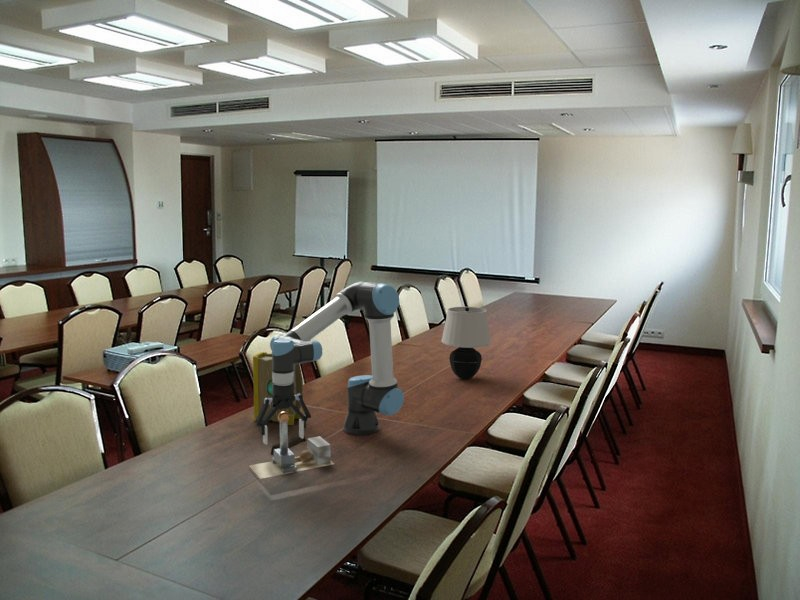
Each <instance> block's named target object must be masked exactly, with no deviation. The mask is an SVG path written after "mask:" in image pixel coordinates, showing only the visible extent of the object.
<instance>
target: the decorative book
mask: <svg viewBox="0 0 800 600" xmlns="http://www.w3.org/2000/svg"><path fill="white" fill-rule="evenodd" d="M252 369H253V370H252V375H253V377H252V379H253V382H252V383H253V421H254V422H255V421H256V418H257V416H258V414H259V412H260V410H261V407H262V405H263V401H264V398H265V397H266V398H272V396H273V388H272V385H273V379H272V353H268V351H261V352H260V351H259V353H257V354H255V355H253V356H252ZM303 381H304V379H303V373H302V370H301V364H296V365H294V382H293V383H294V395H297V394H298V393H300V394H301V395H302V396H303V397H304V388H303V387H304V386H303ZM293 404H294V405H295V406H296V407H297V408H298V410H299V411H300V412H301V413H302V414H303V412H302V411H301V409H302V407H301V405H300V404H299V402H298V400H296V398H295V400H294V401H293ZM272 405H273V402H271V403H270V404H269V406H268V409H267V411H266V413H265V415H266V414H267V413H268V411H269V410H270V409H271V406H272ZM283 411H285V412H287V413H288V414H289V420H288V426H294V424H295V419H297V420H299V419H302V418H301V417H300V416H299V415H298V414H297V413H296V412H295V411H294V410H293V409H292V408H291V407H289V408H288V409H285V408H284V409H281V410H280V409H278V410H277V411H276V412H275V413H274V415H273V416H272V417H271V419H270V420H269V421H268V422H270V421H272V422H276V423H280V421H279V420H278V415H279V413H280V412H283ZM265 415H264V417H265ZM264 417H263V418H264Z"/></svg>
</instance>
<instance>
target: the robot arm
mask: <svg viewBox="0 0 800 600" xmlns="http://www.w3.org/2000/svg"><path fill="white" fill-rule="evenodd" d="M399 305H400V297H399V293H398V290H397V289H396V288H394V286H393V285H390V284H387V283H383V282H377V281H376V282H375V281H367V280H360V281H357V282H354V283H352V284H350V285H348V286H347V287H345V288H343V289H342V290H339V292H337V293H336V294H335V295H334V298H333V299H332V300H330V301H329V302H327V303H326V304H325V305H323V306H322V307H320V309H318V310H316V311H315V312H314V313H312V314H311V315H310V316H308V317H307V318H305V319H304V320H303V321H301V322H300V323H299V324H297V325H296V326H294V327H293V328H292V329H290V330H289V331H288V332H286V333H285V334H275V335H274V336H273V337H272V338H271V339H270V343H269V347H270V350H271V354H272V379H273V385H272V388H273V396H272V398H266V397H265V398H264V401H263V405H262V407H261V410H260V412H259V414H258V416H257V418H256V421H254V424H255V425H256V426H258V427H259V431H260V435H261V436H262V443H263V444H264V445H265V446H266V445H268V426H267V424H268V423H269V422H270V421H271V420H270V419H271V417H272V416H273V415H274V413H275V412H276V411H277V410H278V409H280V410H281V409H284V408H285V409H288V408H289V407H291V408H292V409H293V410H294V411H295V412H296V413H297V414H298V415H299V416H300V417H301V418H300V419H298V430H299V431H298V434H299V437H300V438H302V439H303V438H304V436H305V429H306V428H307V421H308V419H310V418H312V414H311V413H310V411H309V409H308V407H307V405H306V403H305V401H304V395H303V396H302V395H301V394H300V393H298V394H297V395H294V383H293V382H294V365H296V364H300V365H301V364H305V363H311V362H312V363H313V362H315V361H318V360H320V359H321V358H322V356H323V346H322V344H321V342H320V341H318V340H316V339H315V340H313V338H315V337H317V336H318V335H319V334H321V332H323V331H324V330H326V329H327V328H328V327H330V326H331V325H332V324H334V323H336V322H337V321H338V320H339V319H340V318H342V317H343V316H345V315H350V314H351V313H353V312H354V311H358V310H362V311H364V319H366V320H367V321H368V325H369V326H368V327H369V328H368V329H369V342H370V344H369V345H370V347H369V348H370V359H371V360H370V361H371V374H370V375H369V374H367V375H366V374H365V375H356V376H351V377H350V378H349V379H348V381H347V387H346V388H347V412H346V416H345V419H344V422H343V431H344V433H346V434H347V433H348V434H351V435H355V436H366V435H373V434H375V433H378V431H379V430H380V423H379V418H378V417H377V413H378V414H380V415H385V416H393V415H395V414H397V413H398V412H399V411H400V409H401V408H402V407H403V404H404V401H405V394H404V392H403V391H402V389H401V388H399V385H398V379H397V378H396V377H394V368H393V367H394V366H393V365H394V363H393V343H392V342H393V341H392V324H391V321H392V319H393V318H394V317H395V313H396V312H397V310H398V307H399ZM295 398H296V400H298V402H299V404H300V405H301V409H302V411H303V412H302V411H301V410H300V411H301V412H302V413H301V412H300V411H299V410H298V408H297V407H296V406H295V405H294V404H293V401H294V400H295ZM271 402H273V405H272V406H271V409H270V410H269V411H268V413H267V414H266V415H265V413H266V411H267V409H268V406H269V404H270V403H271ZM303 413H304V414H303ZM264 415H265V417H264ZM263 417H264V418H263ZM269 420H270V421H269Z"/></svg>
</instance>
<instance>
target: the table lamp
mask: <svg viewBox="0 0 800 600" xmlns="http://www.w3.org/2000/svg"><path fill="white" fill-rule="evenodd" d="M487 313H488V310H487V309H486V308H481V307H475V306H454V307H453V306H452V307H449V308H447V312H446V319H445V323H444V327H443V332H442V337H441V340H440V341H441V343H442V344H443V345H446V346H448V347H454V348H455V349H454V350H452V351H451V352H450V354H449V358H448V359H449V365H450V368H451V370H452V372H453V373H454V375H455V376H456V377H458V379H460V380H465V381H469V380H470V379H472V378H473V377H475V376H476V375H477V374H478V372H479V370H480V368H481V365H482V360H483V357H482V354H481V353H480V351H478V350H477V349H478V348H483V347H489V346H490V345H491V344H492V341H491V335H490V328H489V321H488V314H487ZM476 348H477V349H476Z"/></svg>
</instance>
